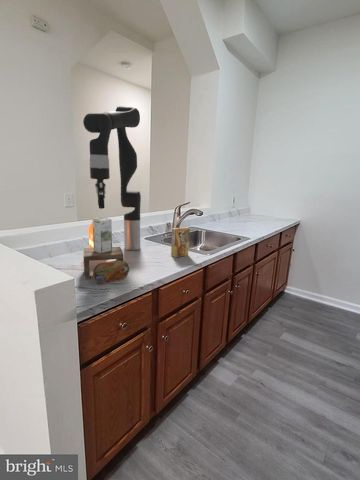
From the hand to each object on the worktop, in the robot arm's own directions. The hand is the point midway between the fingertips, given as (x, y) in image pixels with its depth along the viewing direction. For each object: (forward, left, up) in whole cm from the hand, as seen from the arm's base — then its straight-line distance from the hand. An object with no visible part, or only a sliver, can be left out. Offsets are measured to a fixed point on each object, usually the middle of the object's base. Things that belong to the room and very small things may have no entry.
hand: (101, 206), depth 115 cm
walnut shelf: (0, 0, -29) cm, 29 cm away
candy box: (-17, +41, -30) cm, 53 cm away
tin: (+10, +3, -30) cm, 31 cm away
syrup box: (0, 0, -20) cm, 20 cm away
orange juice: (-26, -1, -30) cm, 39 cm away
